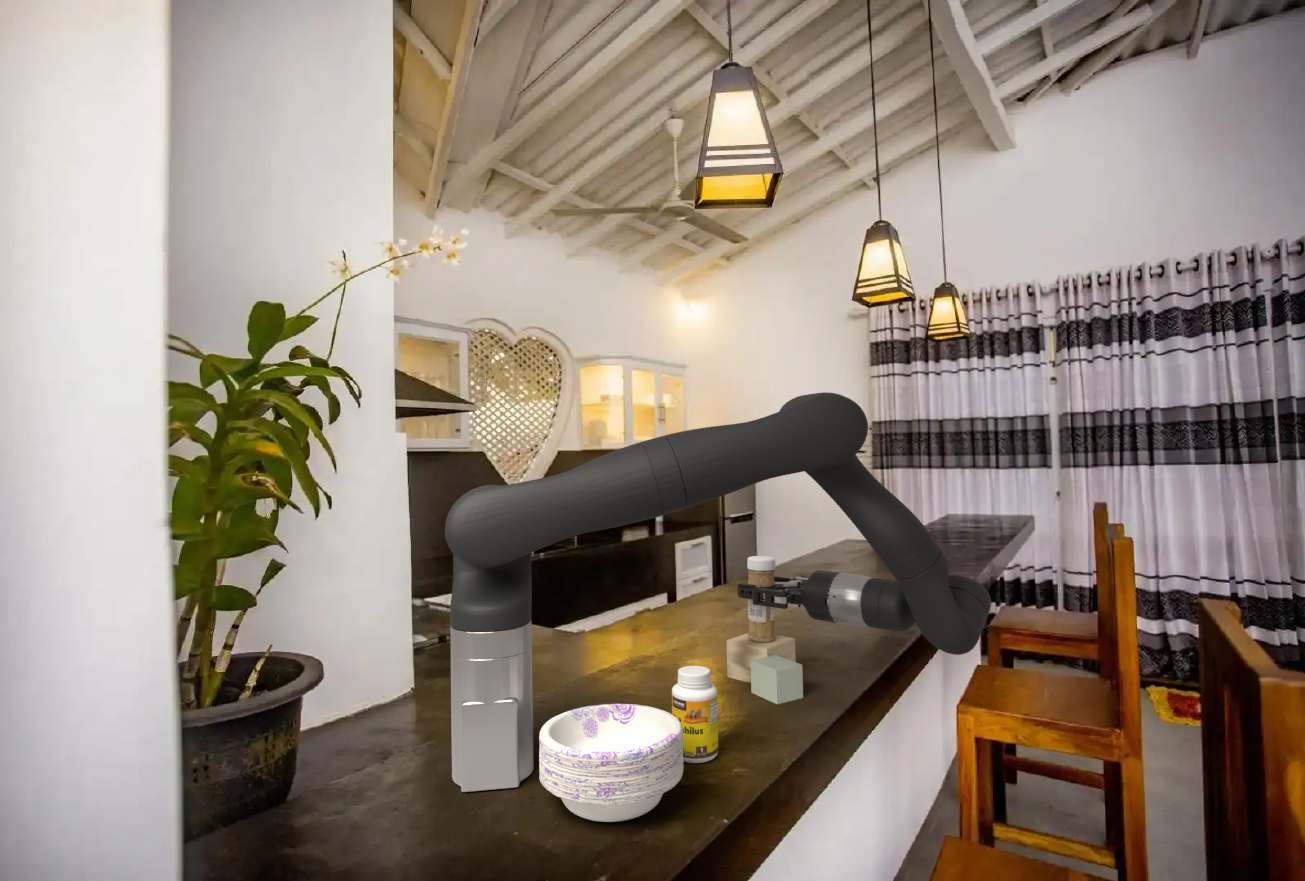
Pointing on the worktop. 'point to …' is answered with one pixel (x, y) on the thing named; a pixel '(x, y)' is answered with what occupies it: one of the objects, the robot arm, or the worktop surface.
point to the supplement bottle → (696, 713)
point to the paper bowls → (611, 759)
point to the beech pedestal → (755, 654)
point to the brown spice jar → (759, 615)
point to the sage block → (776, 679)
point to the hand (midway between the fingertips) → (754, 586)
